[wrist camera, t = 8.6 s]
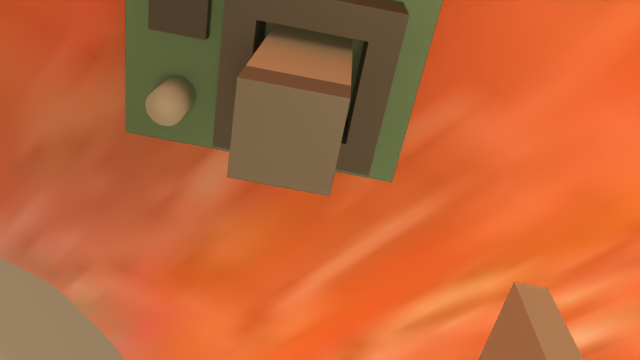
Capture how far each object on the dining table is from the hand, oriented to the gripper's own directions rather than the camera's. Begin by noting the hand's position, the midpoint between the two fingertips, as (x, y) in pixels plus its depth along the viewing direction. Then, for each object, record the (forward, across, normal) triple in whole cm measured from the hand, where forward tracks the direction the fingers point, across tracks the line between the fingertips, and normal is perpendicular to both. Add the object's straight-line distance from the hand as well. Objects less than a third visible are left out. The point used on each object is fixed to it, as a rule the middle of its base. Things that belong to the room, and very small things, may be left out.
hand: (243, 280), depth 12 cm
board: (+19, -2, 0) cm, 19 cm away
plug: (+18, 0, 0) cm, 18 cm away
